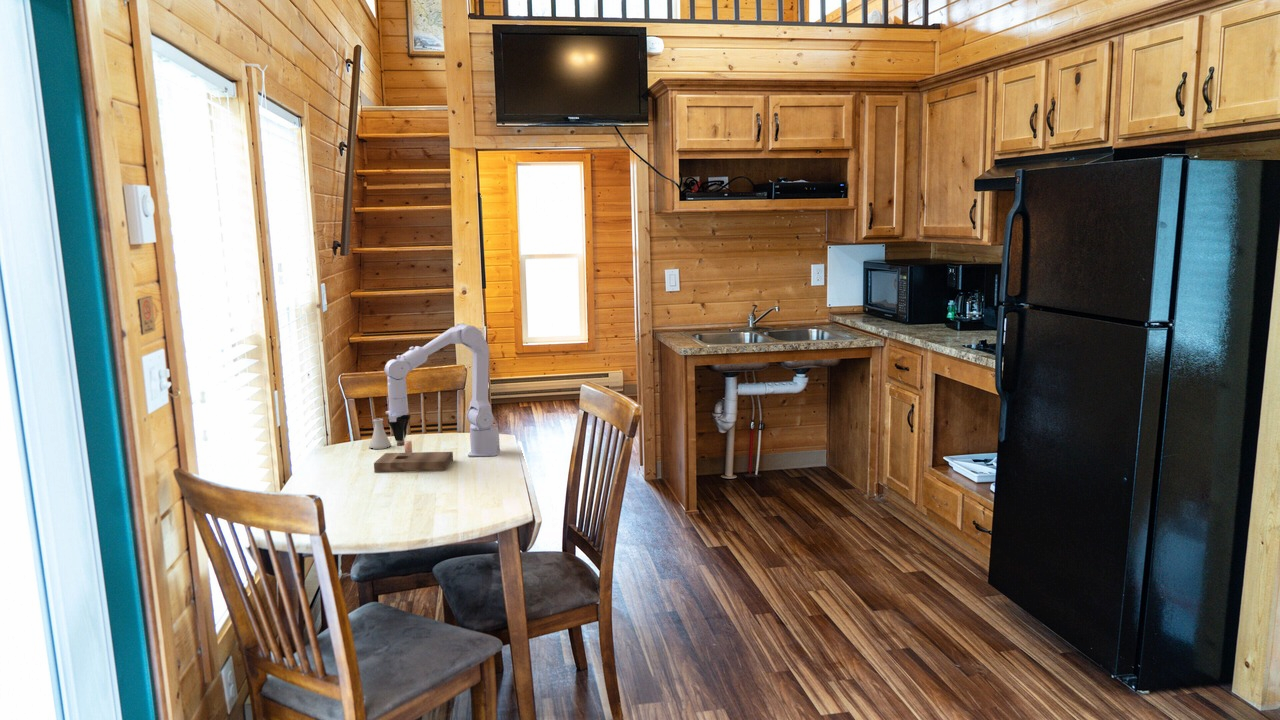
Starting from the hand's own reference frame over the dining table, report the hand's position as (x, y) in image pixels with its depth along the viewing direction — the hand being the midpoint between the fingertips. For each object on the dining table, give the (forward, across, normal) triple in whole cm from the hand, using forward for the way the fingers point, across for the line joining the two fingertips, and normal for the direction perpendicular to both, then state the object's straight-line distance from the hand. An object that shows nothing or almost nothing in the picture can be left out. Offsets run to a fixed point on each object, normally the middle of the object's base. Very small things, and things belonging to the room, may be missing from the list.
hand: (400, 439), depth 266 cm
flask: (+9, -26, -15) cm, 31 cm away
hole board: (+9, 0, +4) cm, 10 cm away
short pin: (+9, -15, -2) cm, 18 cm away
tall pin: (+2, 0, 0) cm, 2 cm away
